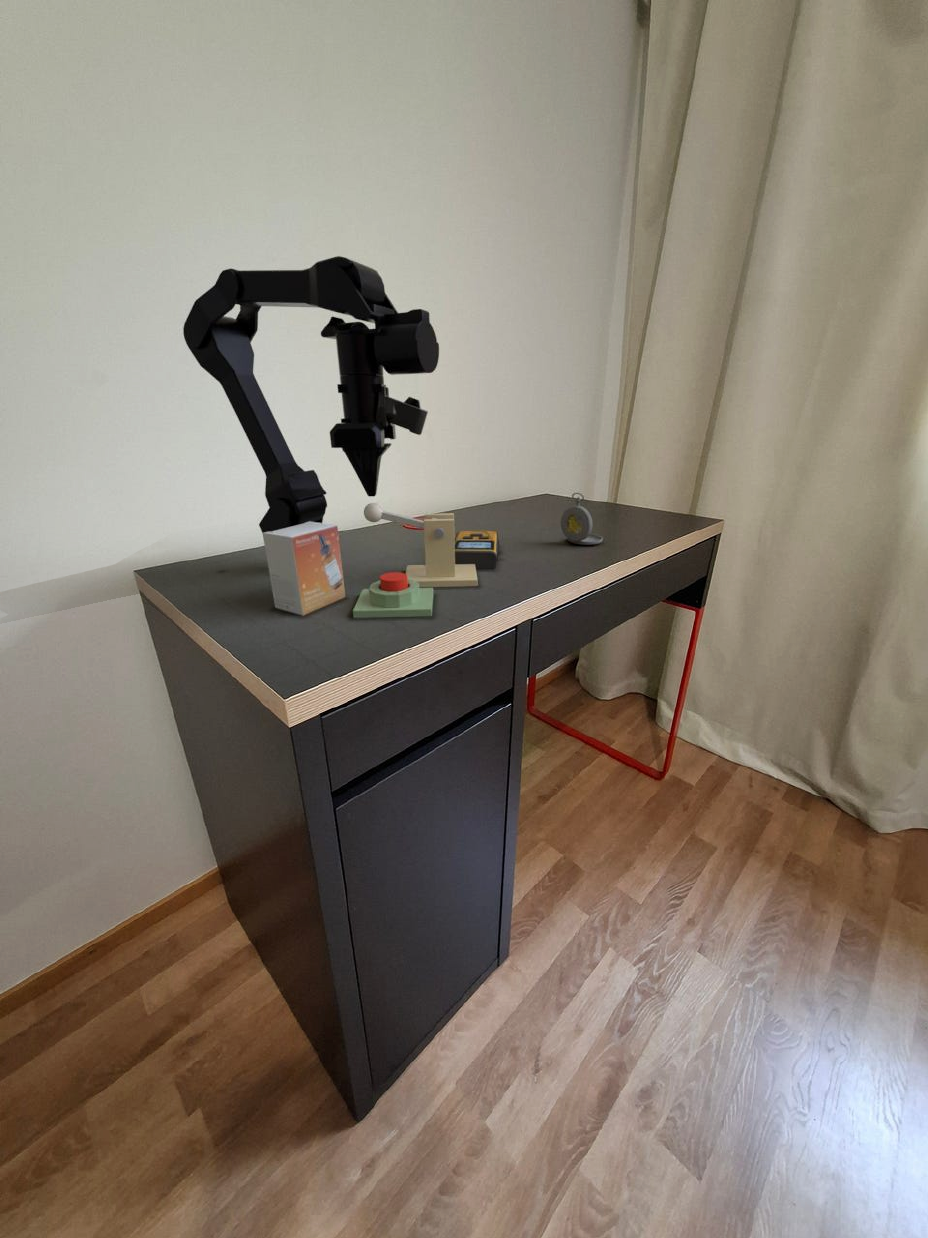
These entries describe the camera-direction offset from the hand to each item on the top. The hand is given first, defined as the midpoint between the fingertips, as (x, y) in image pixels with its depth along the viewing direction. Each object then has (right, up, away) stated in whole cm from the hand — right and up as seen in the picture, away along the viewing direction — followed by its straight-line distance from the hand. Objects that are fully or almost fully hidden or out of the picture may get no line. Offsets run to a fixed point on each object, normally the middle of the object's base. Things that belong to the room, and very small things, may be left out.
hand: (372, 495), depth 71 cm
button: (+4, -14, -6) cm, 16 cm away
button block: (+4, -16, -5) cm, 17 cm away
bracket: (+10, -12, +5) cm, 16 cm away
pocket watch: (+36, -3, +24) cm, 44 cm away
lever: (+4, -5, +2) cm, 7 cm away
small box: (-8, -16, -3) cm, 18 cm away
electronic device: (+15, -7, +17) cm, 24 cm away
